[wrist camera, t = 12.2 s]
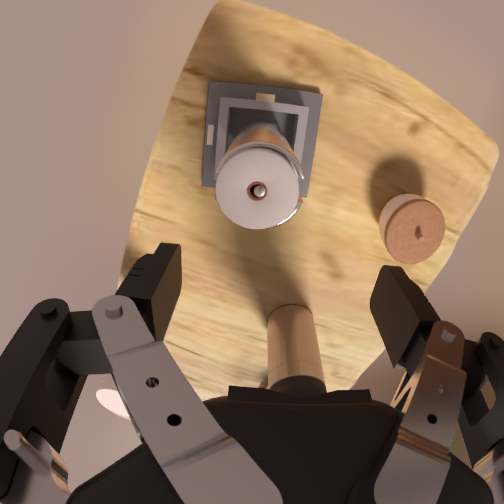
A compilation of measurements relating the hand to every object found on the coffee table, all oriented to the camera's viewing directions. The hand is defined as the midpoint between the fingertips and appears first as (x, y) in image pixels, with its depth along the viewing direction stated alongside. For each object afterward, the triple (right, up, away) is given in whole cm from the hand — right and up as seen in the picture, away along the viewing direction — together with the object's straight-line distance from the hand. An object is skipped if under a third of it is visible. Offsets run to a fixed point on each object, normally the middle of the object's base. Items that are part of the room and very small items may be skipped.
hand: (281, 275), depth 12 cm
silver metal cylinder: (0, +17, +30) cm, 35 cm away
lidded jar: (+24, +7, +37) cm, 44 cm away
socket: (0, +18, +31) cm, 36 cm away
